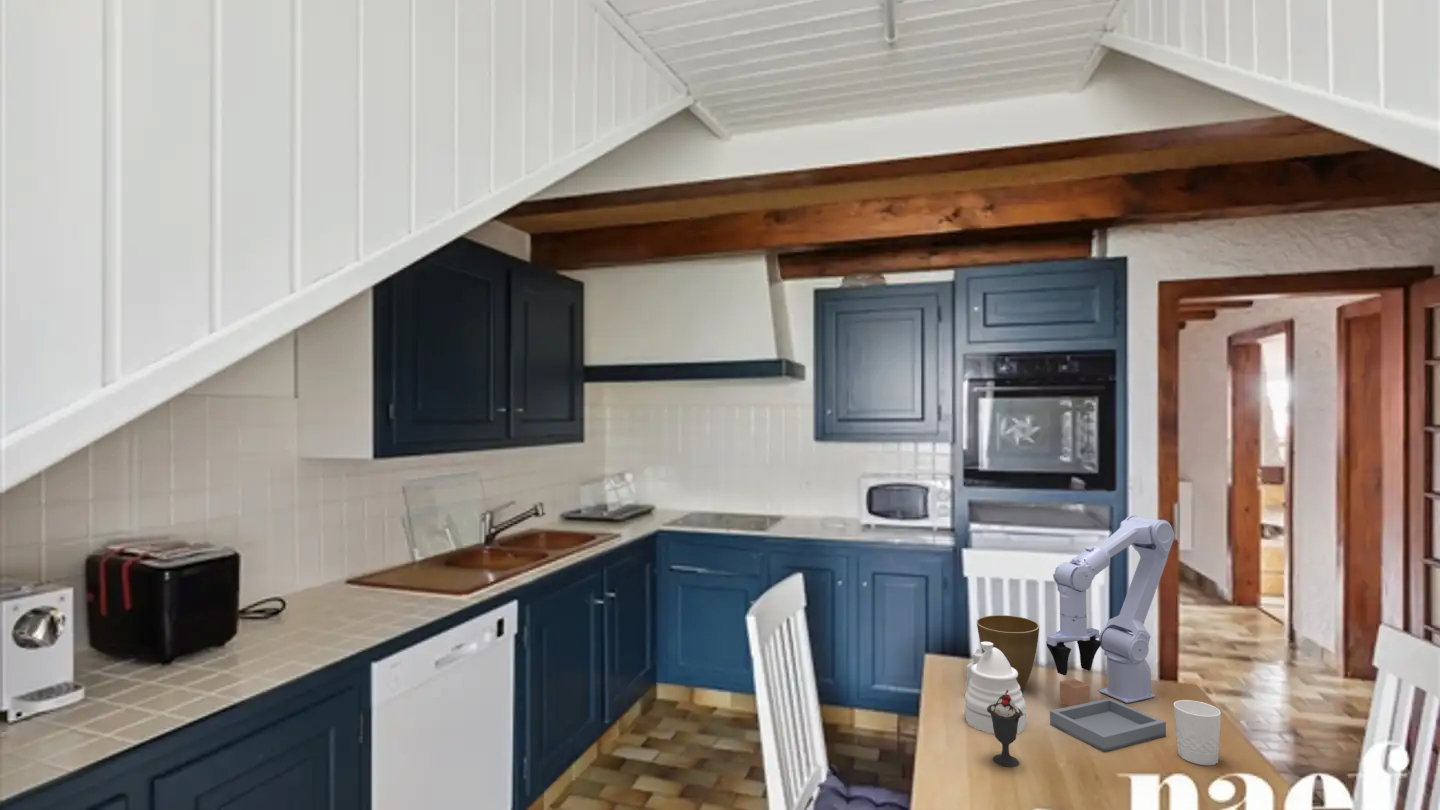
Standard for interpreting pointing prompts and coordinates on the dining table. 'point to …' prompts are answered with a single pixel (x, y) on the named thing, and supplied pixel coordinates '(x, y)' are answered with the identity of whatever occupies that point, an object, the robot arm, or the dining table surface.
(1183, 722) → the white cup
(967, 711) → the honey pot
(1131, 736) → the tray
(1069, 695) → the block
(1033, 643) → the plant pot
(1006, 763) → the sundae
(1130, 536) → the robot arm
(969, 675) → the eye dropper bottle
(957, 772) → the dining table surface
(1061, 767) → the dining table surface
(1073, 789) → the dining table surface
